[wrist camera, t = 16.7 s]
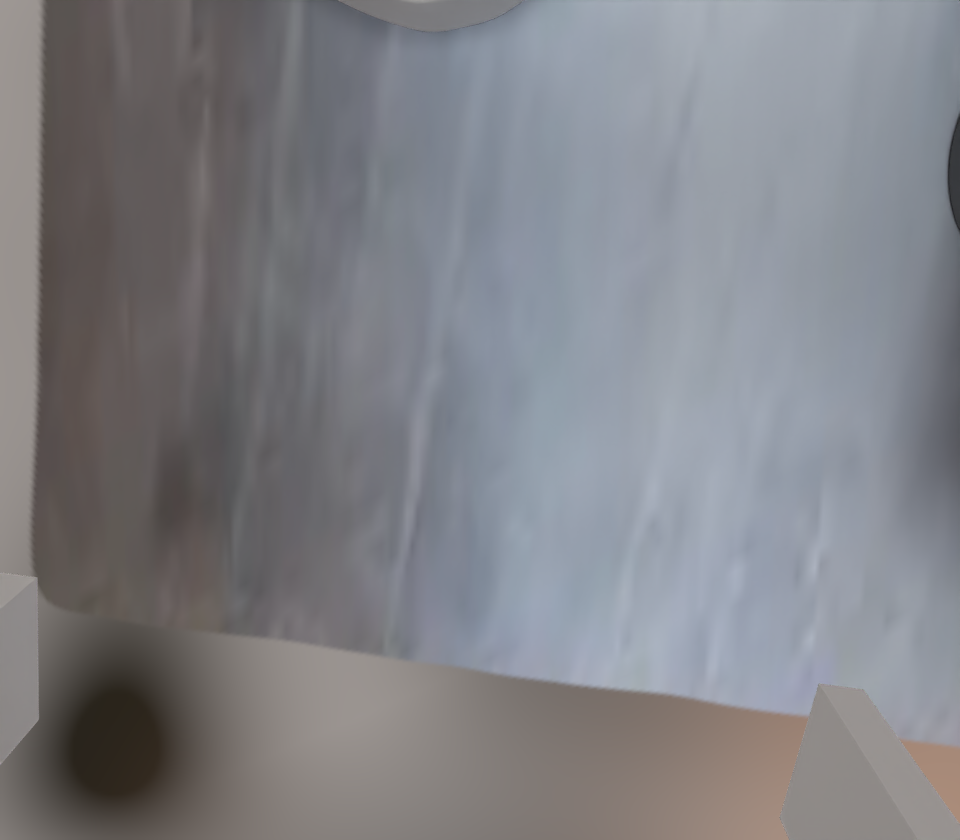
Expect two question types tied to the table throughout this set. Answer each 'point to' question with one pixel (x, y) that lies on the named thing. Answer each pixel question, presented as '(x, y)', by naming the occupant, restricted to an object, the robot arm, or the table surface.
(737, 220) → the table surface
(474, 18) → the lumpy-topped squat cylinder
